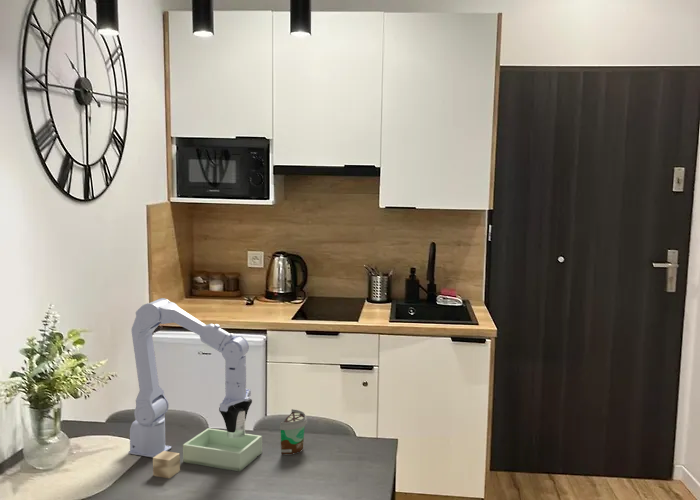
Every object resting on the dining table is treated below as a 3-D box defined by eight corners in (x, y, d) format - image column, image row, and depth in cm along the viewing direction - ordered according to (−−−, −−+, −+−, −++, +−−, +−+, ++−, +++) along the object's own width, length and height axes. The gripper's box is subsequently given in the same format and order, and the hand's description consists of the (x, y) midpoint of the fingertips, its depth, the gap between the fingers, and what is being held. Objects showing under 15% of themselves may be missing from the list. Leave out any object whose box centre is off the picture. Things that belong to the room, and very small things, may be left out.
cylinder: (223, 437, 193) (223, 412, 192) (232, 430, 198) (232, 407, 197) (240, 439, 192) (240, 414, 191) (248, 433, 196) (248, 409, 195)
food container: (300, 458, 196) (300, 424, 195) (279, 456, 198) (279, 422, 197) (311, 442, 208) (311, 410, 207) (291, 440, 210) (292, 408, 209)
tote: (183, 462, 193) (182, 444, 193) (208, 444, 206) (208, 428, 205) (239, 471, 187) (239, 453, 187) (262, 452, 200) (262, 435, 200)
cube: (153, 475, 184) (152, 457, 184) (164, 468, 189) (163, 450, 188) (169, 478, 183) (169, 460, 182) (180, 471, 187) (179, 453, 187)
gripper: (236, 390, 185) (236, 439, 186) (260, 375, 199) (260, 421, 200) (212, 387, 187) (213, 435, 189) (238, 373, 201) (238, 418, 202)
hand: (235, 428), depth 194 cm, fingers closed on cylinder, 5 cm apart
